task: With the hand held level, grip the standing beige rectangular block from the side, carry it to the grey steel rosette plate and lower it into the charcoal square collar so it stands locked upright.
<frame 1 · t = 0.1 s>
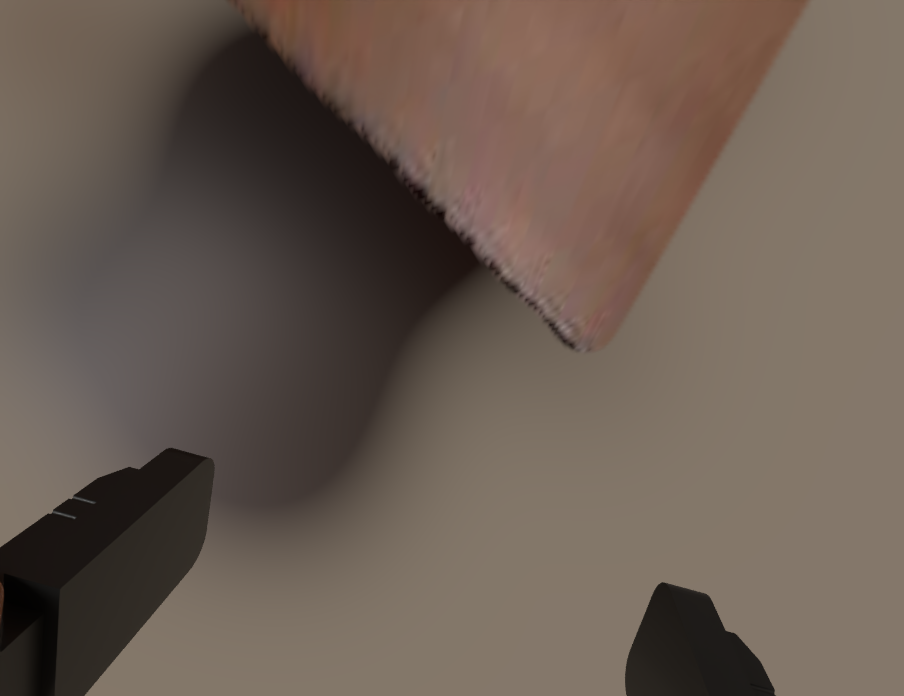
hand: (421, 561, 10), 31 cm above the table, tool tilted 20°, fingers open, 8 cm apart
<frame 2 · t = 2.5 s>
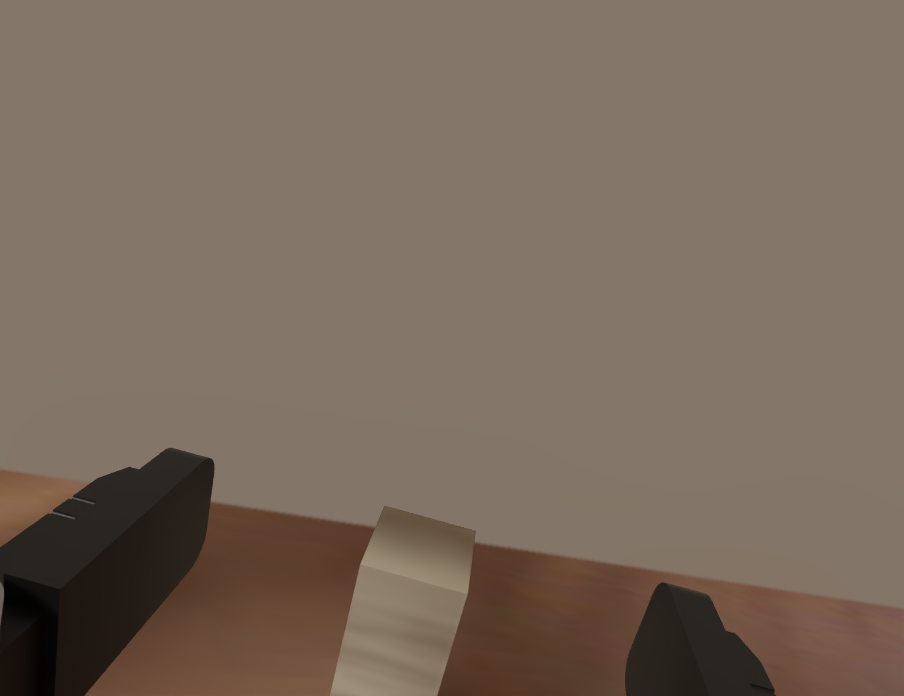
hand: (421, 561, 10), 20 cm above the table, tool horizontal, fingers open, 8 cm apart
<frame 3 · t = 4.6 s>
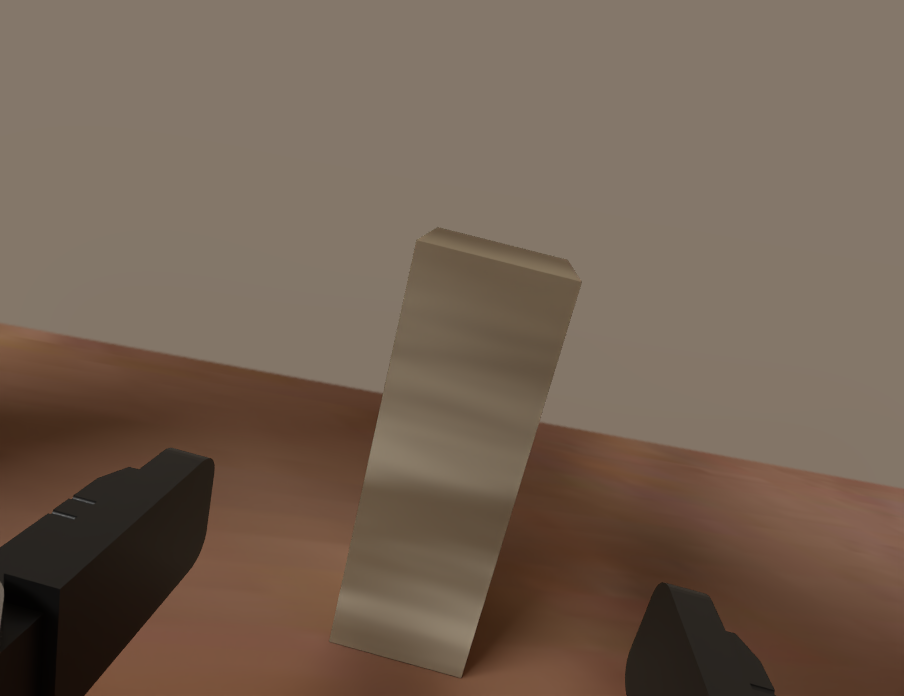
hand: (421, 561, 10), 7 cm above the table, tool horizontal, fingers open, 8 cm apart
beige rectangular block: (406, 612, 19), on the table
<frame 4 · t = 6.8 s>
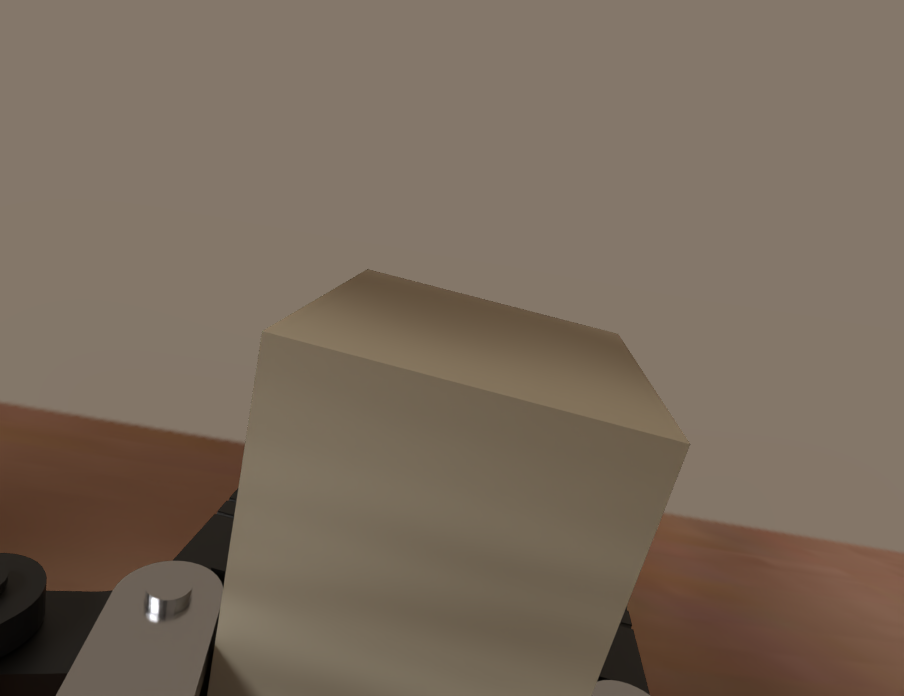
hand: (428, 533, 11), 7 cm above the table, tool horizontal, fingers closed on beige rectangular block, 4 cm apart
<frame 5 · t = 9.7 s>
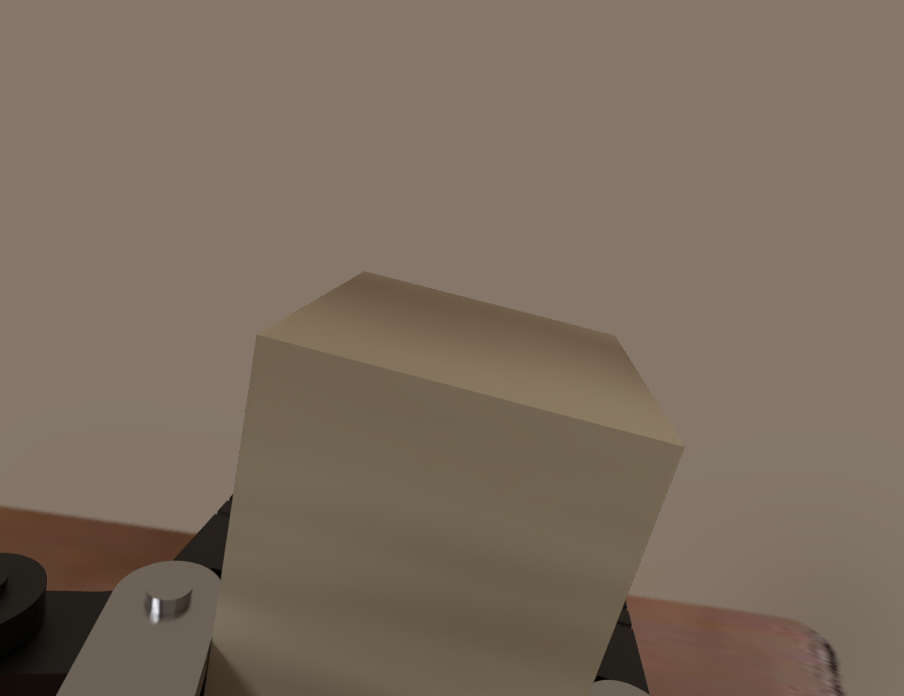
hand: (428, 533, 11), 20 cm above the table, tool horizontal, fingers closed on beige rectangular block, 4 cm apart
when the fingers open (10 cm above the table, at t = 12.8 s): beige rectangular block drops 1 cm, resting on rosette plate.
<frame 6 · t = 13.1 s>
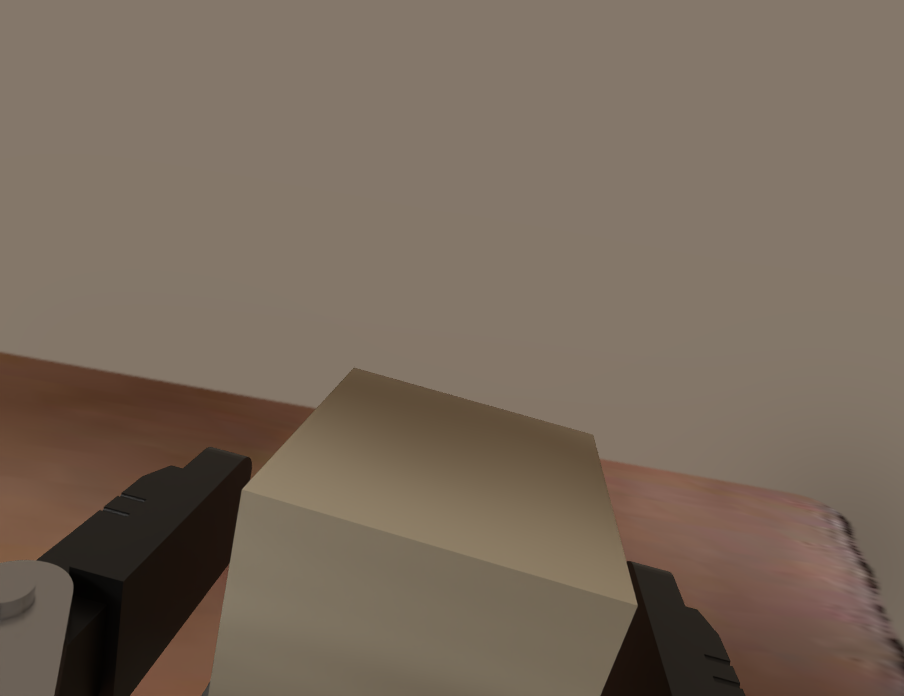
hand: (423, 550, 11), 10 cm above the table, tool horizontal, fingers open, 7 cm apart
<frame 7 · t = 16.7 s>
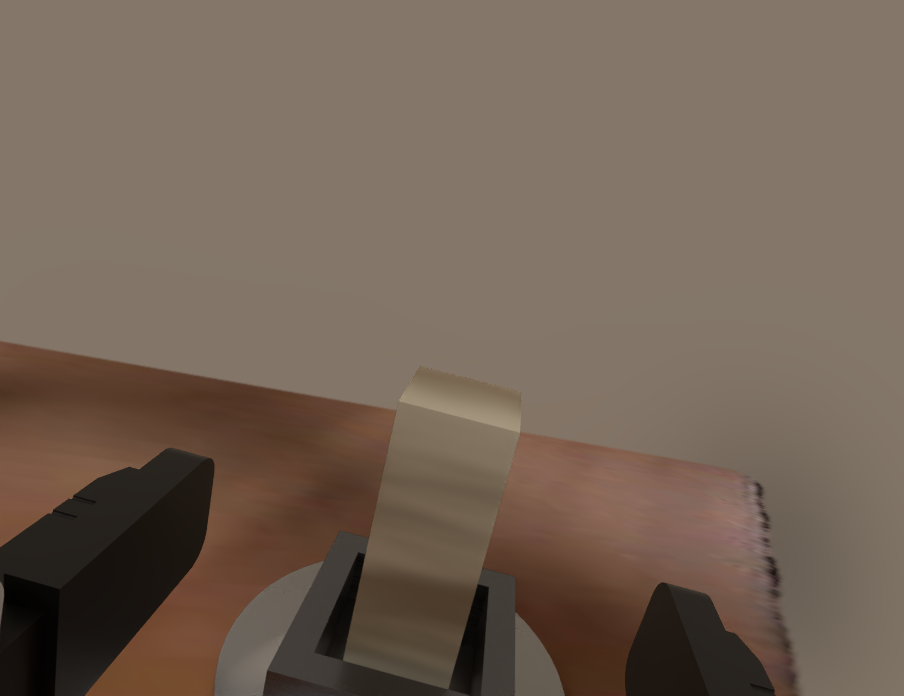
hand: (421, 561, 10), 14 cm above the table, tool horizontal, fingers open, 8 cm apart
rosette plate: (393, 689, 25), on the table
beige rectangular block: (398, 666, 24), point 1 cm above the table, touching rosette plate
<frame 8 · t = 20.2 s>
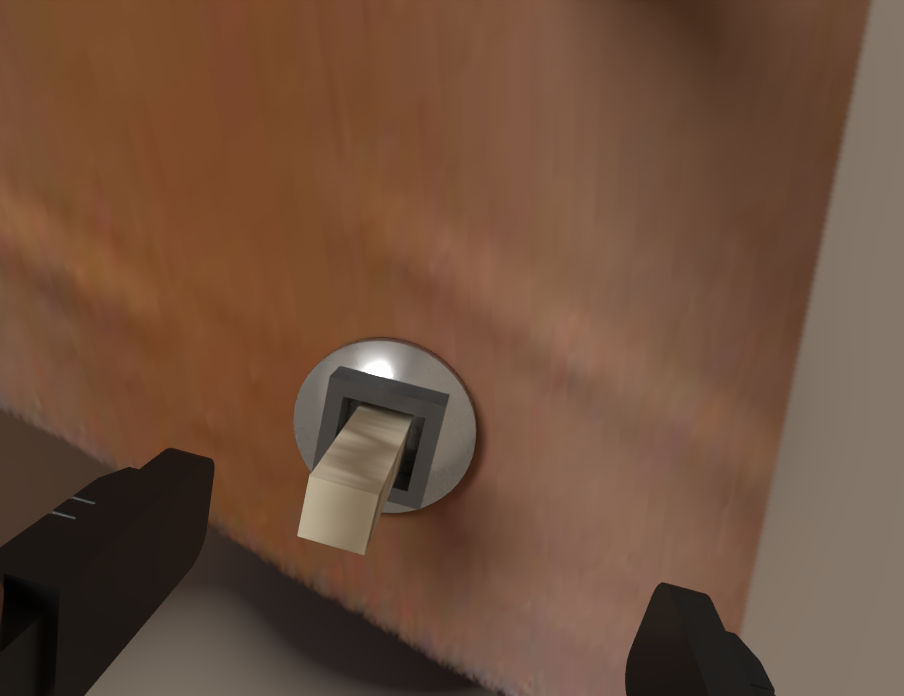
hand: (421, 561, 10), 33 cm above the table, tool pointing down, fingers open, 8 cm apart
rosette plate: (386, 424, 46), on the table
beige rectangular block: (383, 430, 45), point 1 cm above the table, touching rosette plate
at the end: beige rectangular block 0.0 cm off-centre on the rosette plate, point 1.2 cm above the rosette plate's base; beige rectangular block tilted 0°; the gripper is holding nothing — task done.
